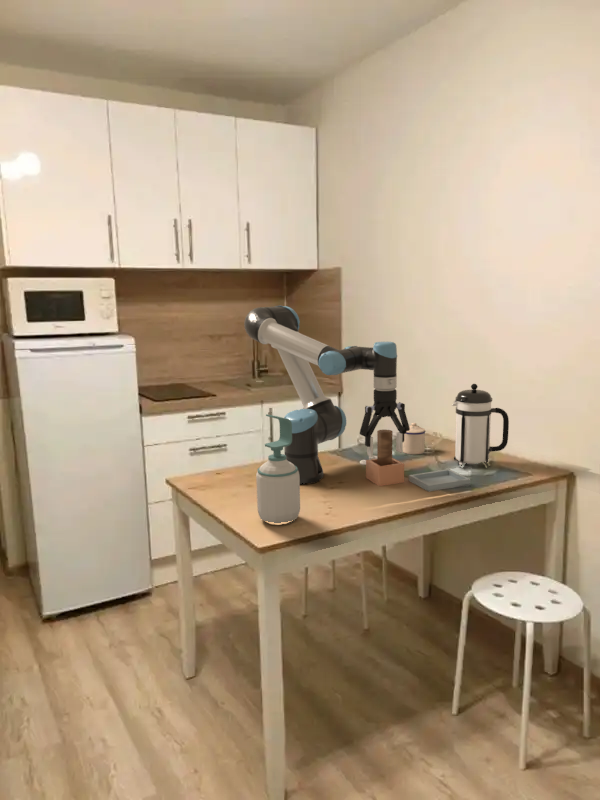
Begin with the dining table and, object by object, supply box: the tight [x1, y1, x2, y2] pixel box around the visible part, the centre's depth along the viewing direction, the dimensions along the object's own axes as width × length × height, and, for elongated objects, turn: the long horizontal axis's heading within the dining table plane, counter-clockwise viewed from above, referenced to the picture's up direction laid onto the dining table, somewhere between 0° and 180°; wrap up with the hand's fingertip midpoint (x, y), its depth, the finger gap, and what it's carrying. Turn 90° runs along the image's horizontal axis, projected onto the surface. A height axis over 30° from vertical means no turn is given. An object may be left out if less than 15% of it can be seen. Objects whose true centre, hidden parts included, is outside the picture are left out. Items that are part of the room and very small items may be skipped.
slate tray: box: [408, 468, 471, 493], centre depth 203 cm, size 16×12×2 cm
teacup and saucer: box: [359, 454, 377, 466], centre depth 225 cm, size 9×8×4 cm
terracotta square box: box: [365, 457, 405, 487], centre depth 207 cm, size 9×9×7 cm
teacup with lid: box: [402, 422, 426, 455], centre depth 243 cm, size 12×9×12 cm
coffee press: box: [451, 383, 510, 466], centre depth 222 cm, size 17×16×30 cm
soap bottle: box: [255, 413, 301, 523], centre depth 173 cm, size 12×12×31 cm
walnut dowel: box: [376, 429, 393, 466], centre depth 205 cm, size 5×5×17 cm
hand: (384, 453), depth 205 cm, fingers open, 10 cm apart
